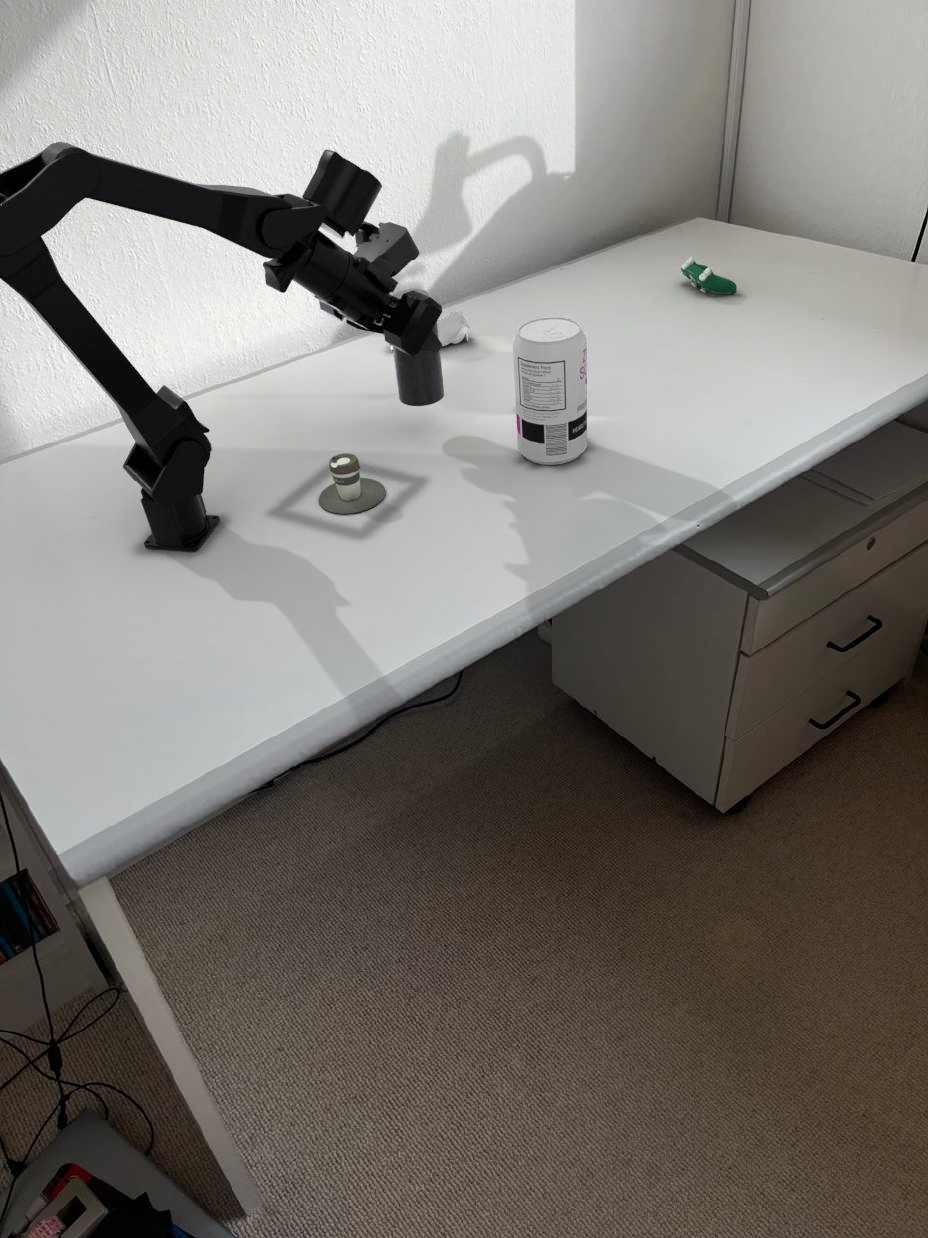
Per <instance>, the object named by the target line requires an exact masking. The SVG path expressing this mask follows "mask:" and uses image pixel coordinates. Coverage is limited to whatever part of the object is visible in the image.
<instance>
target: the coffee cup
mask: <svg viewBox="0 0 928 1238" xmlns="http://www.w3.org/2000/svg"><path fill="white" fill-rule="evenodd" d="M328 467H329V471H330V473H331V476H332V480H333V483H332V484H330V485H328V486H327V487H326V488H325V489H323V490H322V491H321V493H320V494H319V496H318V504H319V506H320V507H321V508H322V509H323V510H325V511H326V512H329V513H332V514H337V515H352V514H359V513H362V512H365V511H368V510H370V509H373V508H374V507H376V506H378V505H379V504H380V503H381V502H382V501H383V499H384V497H385V496H386V487H385V486H384V485H383V483H381V482H380V481H378V480H376V479H372V478H368V477H360V476H361V475H360V469H361V465H360V461H359V458H358V457H357V456H356V455H355V454H353V453H347V452H345V453H338V454H336V455H333V456H332V457H331V458H330V459H329V465H328Z"/></svg>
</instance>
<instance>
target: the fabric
mask: <svg viewBox="0 0 928 1238" xmlns="http://www.w3.org/2000/svg"><path fill="white" fill-rule="evenodd" d="M437 326H438V336H439V340H440V342H441V343H442V347H445V346H448V345H449V344H454V345H455V344H456V345H457V344H459V343H461V342H462V341H463V340H464V338H465V337H466V342H469V336H470V334H471V331H470V329H471V328H470V326H469V325H468V322H467V321H466V319H465V317H464V315H463V312H462V311H461V310H458V311H451V312H450V313H449V315H446V316H444V317H442V318H441V319H438V320H437ZM389 351H393V348H392V346H391V345H390V350H389Z"/></svg>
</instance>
